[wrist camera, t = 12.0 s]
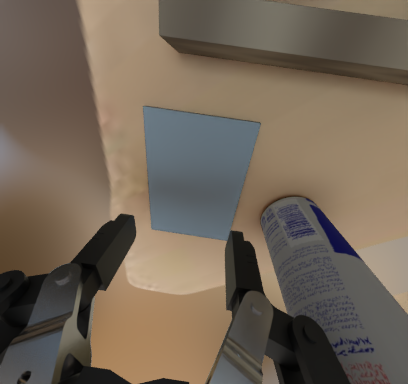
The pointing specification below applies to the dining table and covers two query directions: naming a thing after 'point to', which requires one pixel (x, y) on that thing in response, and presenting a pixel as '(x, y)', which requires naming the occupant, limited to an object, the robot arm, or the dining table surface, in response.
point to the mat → (196, 170)
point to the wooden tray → (289, 36)
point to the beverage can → (336, 292)
